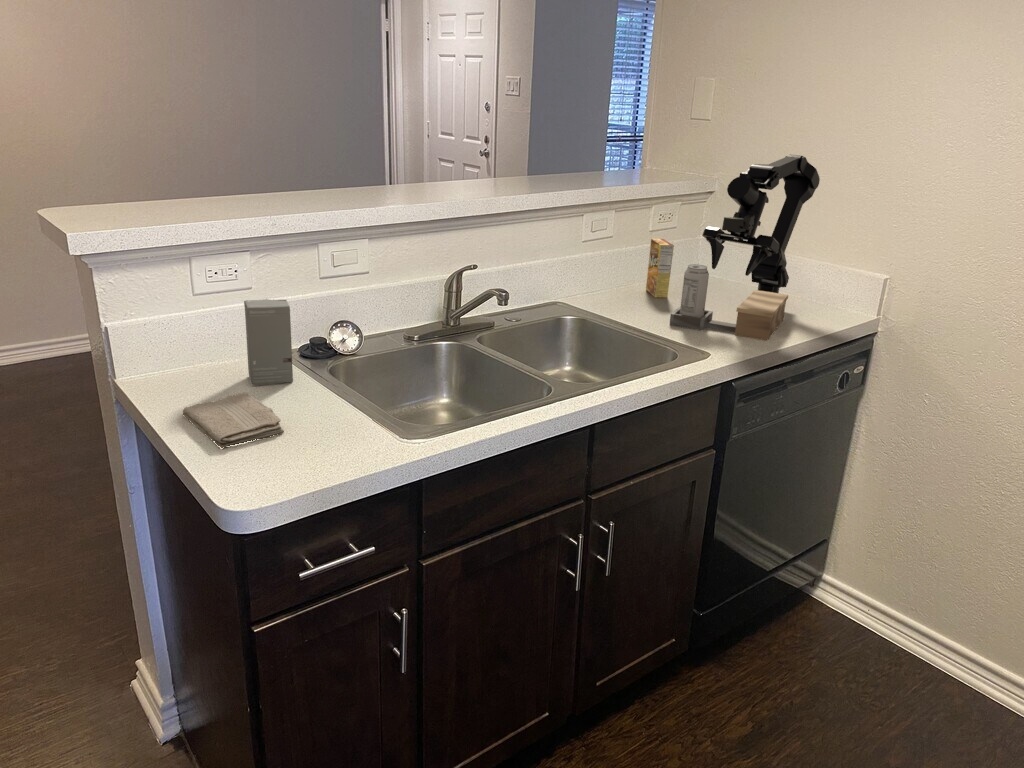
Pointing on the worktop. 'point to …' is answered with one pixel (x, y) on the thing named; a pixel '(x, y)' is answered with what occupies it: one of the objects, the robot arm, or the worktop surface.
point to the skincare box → (268, 341)
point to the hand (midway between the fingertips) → (729, 272)
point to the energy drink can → (694, 291)
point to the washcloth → (234, 419)
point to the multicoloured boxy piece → (742, 317)
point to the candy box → (659, 267)
